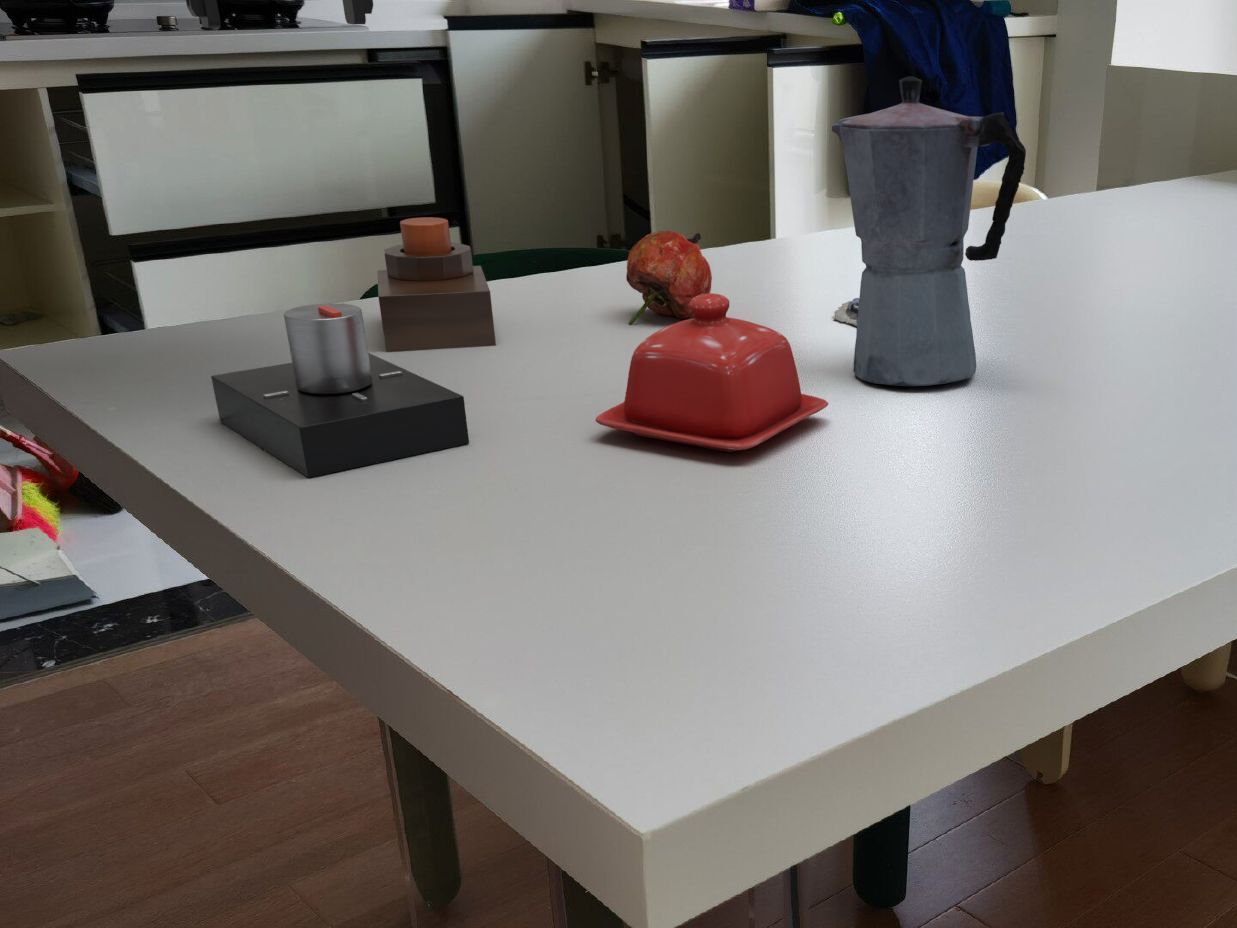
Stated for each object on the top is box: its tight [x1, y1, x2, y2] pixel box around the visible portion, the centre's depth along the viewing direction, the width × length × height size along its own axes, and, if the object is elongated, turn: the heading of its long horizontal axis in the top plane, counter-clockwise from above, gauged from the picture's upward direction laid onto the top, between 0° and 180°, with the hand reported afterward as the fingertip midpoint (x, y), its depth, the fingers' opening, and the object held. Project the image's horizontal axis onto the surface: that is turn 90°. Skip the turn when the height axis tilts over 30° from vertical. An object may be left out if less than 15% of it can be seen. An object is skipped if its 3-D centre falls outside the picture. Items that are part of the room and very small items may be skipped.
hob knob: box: [283, 302, 372, 394], centre depth 85 cm, size 4×4×5 cm
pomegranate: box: [625, 230, 713, 326], centre depth 114 cm, size 7×7×10 cm
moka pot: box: [831, 75, 1027, 387], centre depth 97 cm, size 10×15×20 cm, turn 59°
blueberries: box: [832, 297, 860, 327], centre depth 117 cm, size 7×8×2 cm
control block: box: [377, 242, 497, 353], centre depth 109 cm, size 11×8×6 cm
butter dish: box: [595, 292, 829, 453], centre depth 87 cm, size 12×12×8 cm
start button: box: [399, 216, 452, 255], centre depth 109 cm, size 4×4×2 cm
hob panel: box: [210, 352, 470, 479], centre depth 86 cm, size 14×10×3 cm
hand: (285, 25), depth 86 cm, fingers open, 8 cm apart
